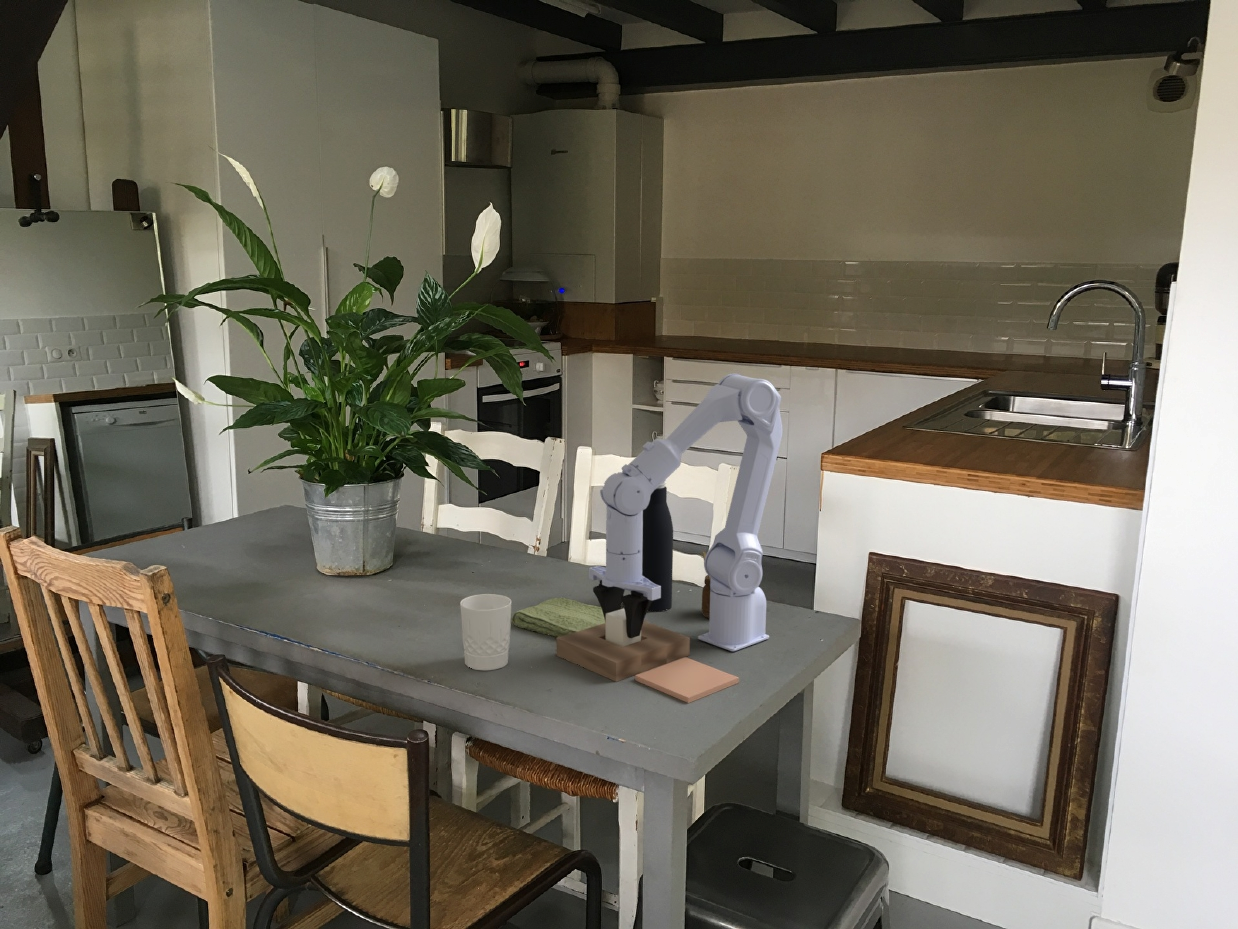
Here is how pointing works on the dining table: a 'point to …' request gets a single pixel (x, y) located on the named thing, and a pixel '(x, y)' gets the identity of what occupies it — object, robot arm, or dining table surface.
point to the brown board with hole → (622, 650)
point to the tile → (687, 679)
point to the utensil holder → (706, 595)
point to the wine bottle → (658, 547)
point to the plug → (618, 629)
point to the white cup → (486, 630)
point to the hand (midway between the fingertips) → (623, 632)
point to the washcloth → (559, 617)
